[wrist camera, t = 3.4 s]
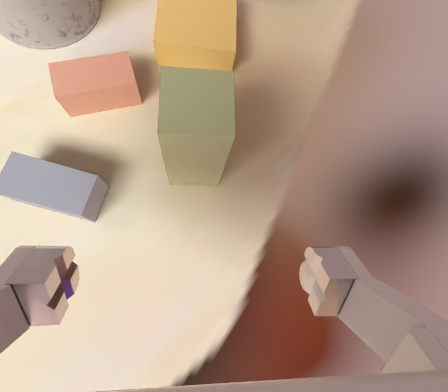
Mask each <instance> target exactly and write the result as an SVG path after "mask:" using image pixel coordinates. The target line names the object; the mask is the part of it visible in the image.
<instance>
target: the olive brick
mask: <svg viewBox="0 0 448 392" xmlns="http://www.w3.org/2000/svg"><path fill="white" fill-rule="evenodd" d="M157 133H158V137H159V141H160V145H161V149H162V154H163V158H164V162H165V166H166V171H167V175H168V179H169V183H170V185H208V186H218V184H219V181H220V178H221V175H222V173H223V170H224V167H225V164H226V161H227V159H228V156H229V153H230V150H231V148H232V145H233V142H234V139H235V136H236V134H235V92H234V71H222V70H210V69H198V68H185V67H173V66H161V79H160V97H159V114H158V132H157Z"/></svg>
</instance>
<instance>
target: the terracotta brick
mask: <svg viewBox="0 0 448 392" xmlns="http://www.w3.org/2000/svg"><path fill="white" fill-rule="evenodd" d="M48 64H49V70H50V75H51V80H52V85H53V91H54V96H55V98H56V99H57V101H58V102H59V103H60V104H61V106H62V107H63V108H64V109H65V111H66V112H67V113H68V114H69V116H70V117H75V116H80V115H85V114H91V113H96V112H101V111H107V110H112V109H117V108H123V107H128V106H133V105H139V104H142V101H141V97H140V93H139V90H138V86H137V82H136V78H135V75H134V71H133V68H132V64H131V61H130V57H129V54H128V52H122V53H115V54H108V55H102V56H95V57H88V58H81V59H75V60H68V61H61V62H54V63H48Z"/></svg>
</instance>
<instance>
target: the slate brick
mask: <svg viewBox="0 0 448 392" xmlns="http://www.w3.org/2000/svg"><path fill="white" fill-rule="evenodd" d="M108 189H109V186H108V185H107V184H106V183H105V182H104V181H103V180H102V179H101V178H100V177H99V176H98V175H95V174H91V173H88V172H84V171H80V170H77V169H73V168H70V167H66V166H63V165H59V164H55V163H52V162H48V161H45V160H41V159H38V158H34V157H30V156H27V155H23V154H20V153H16V152H13V151H12V152H11V154H10V156H9V158H8V160H7V162H6V164H5V166H4V168H3V169H2V171H1V173H0V195H2V196H4V197H7V198H10V199H12V200H15V201H18V202H22V203H25V204H29V205H33V206H37V207H40V208H44V209H48V210H51V211H55V212H59V213H63V214H66V215H70V216H74V217H77V218H81V219H85V220H88V221H92V222H95V221H96V219H97V216H98V214H99V211H100V209H101V206H102V204H103V201H104V199H105V196H106V194H107V191H108Z"/></svg>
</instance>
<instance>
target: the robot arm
mask: <svg viewBox="0 0 448 392" xmlns="http://www.w3.org/2000/svg"><path fill="white" fill-rule="evenodd" d="M304 256H305V258H306V260H305V261H304V262H303V263H302V264H301V267H300V282H301V285H302V287H303V290H305V291H306V292H307V293H308V294H310V295H309V298H308V301H309V304H310V306H311V308H312V310H313V312H314V315H315V316H338V317H339V319H341V320H342V321H343V322H344V323H345V324H346V325H347V326H348V327H349V328H350V329H351V330H352V331H353V332H354V333H355V334H356V335H357V336H358V337H359V338H361V339H362V340H363V341H364V342H365V343H366V344H367V345H368V346H369V347H370V348H371V349H372V350H373V351H374V352H375V353H376V354H378V356H379V357H381V358H382V359H383V360H384V361H385V362H386V363H385V365H384V366H383V368H382V369H381V371H380V372H379V374H365V375H364V374H363V375H348V376H332V377H318V378H317V377H316V378H300V379H284V380H269V381H253V382H237V383H221V384H207V385H190V386H175V387H159V388H144V389H128V390H112V391H97V392H448V321H446V320H445V319H443V318H441V317H440V316H438V315H436V314H435V313H433V312H431V311H430V310H428V309H426V308H425V307H423V306H422V305H420V304H418V303H417V302H415V301H413V300H412V299H410V298H408V297H407V296H405V295H404V294H402V293H400V292H399V291H397V290H395V289H394V288H392V287H390V286H389V285H387V284H386V283H384V282H382V281H381V280H379V279H374V278H373V277H372V275H371V274H370V273H369V272H368V270H367V269H366V268H365V266H364V265H363V264H362V262H361V261H360V260H359V258H358V257H357V256H356V254H355V253H354V252H353V250H352V249H351V248H350V247H348V246H335V247H308V248H307V249H306V251H305V254H304ZM74 257H75V254H74V251H73V248H72V247H68V246H19V247H17V248H16V249H15V250H14V251H13V252H12V253H11V254H10V255H9V257H8V258H7V259H6V260H5V261H4V262H3V264H2V265H1V266H0V353H2V352H3V351H4V350H5V349H6V348H7V347H8V346H10V345H11V344H12V343H13V342H14V341H15V340H16V339H17V338H19V337H20V336H21V335H22V334H23V333H24V332H25V331H27V330H28V329H29V326H42V325H59V324H60V322H61V320H62V318H63V316H64V314H65V312H66V310H67V308H68V302H67V299H68V298H69V297H71V296H72V295H73V294H74V293H75V291H76V289H77V286H78V281H79V269H78V265H76V264H75V263H74V262H73V261H72V260H73V259H74Z"/></svg>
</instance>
